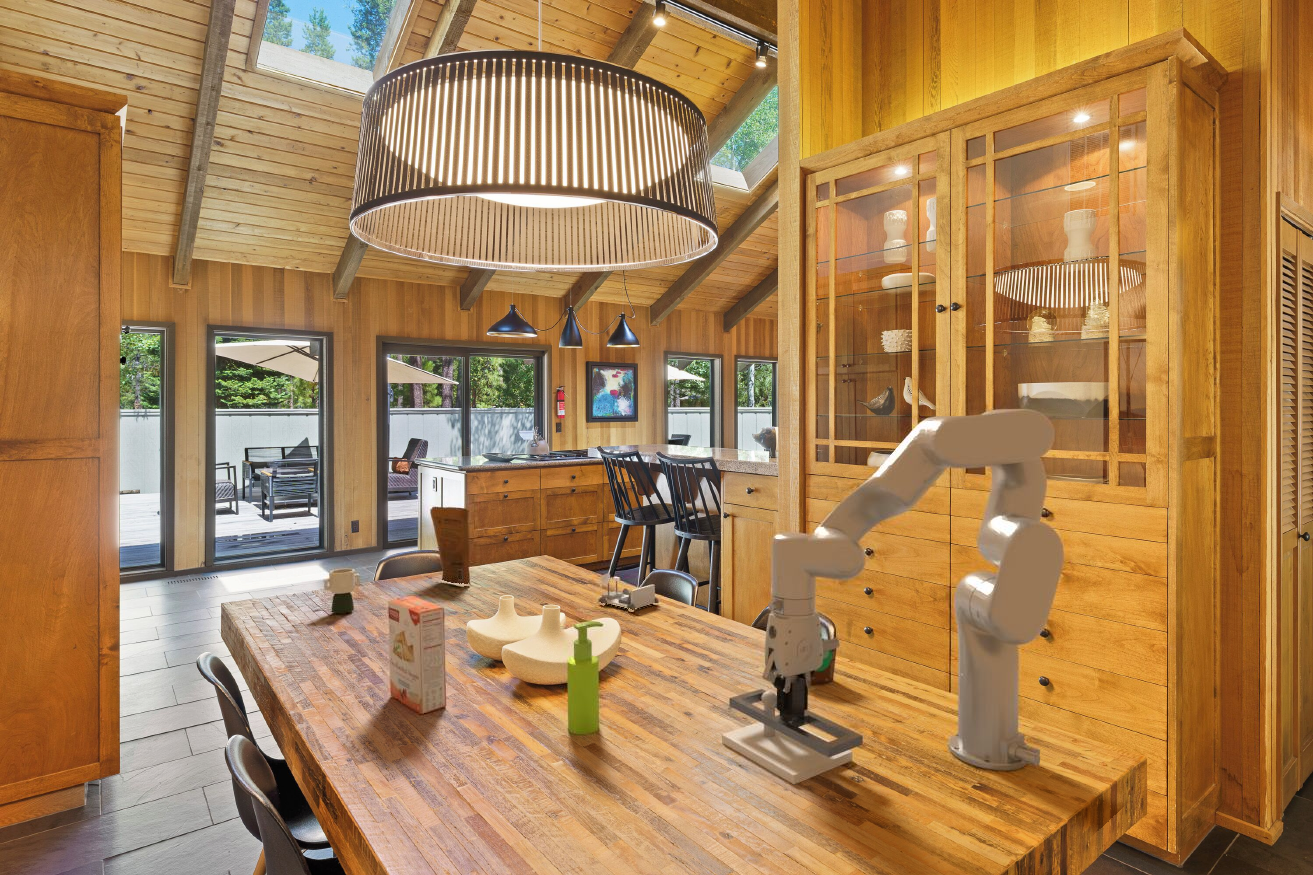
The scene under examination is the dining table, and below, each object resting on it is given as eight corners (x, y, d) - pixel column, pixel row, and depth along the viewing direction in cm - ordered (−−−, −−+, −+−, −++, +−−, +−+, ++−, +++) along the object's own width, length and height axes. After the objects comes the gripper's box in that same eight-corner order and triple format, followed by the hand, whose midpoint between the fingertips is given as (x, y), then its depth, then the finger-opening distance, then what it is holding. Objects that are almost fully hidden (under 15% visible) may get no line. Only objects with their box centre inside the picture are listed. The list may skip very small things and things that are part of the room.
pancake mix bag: (462, 590, 245) (461, 509, 245) (429, 582, 257) (428, 505, 256) (478, 586, 251) (477, 507, 250) (445, 579, 262) (444, 503, 262)
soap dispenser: (609, 728, 135) (608, 624, 134) (575, 737, 131) (574, 629, 131) (596, 717, 140) (595, 616, 139) (563, 725, 136) (562, 622, 136)
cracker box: (388, 697, 151) (386, 599, 150) (415, 689, 155) (413, 594, 155) (419, 716, 141) (417, 611, 141) (447, 707, 145) (445, 606, 145)
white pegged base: (852, 760, 122) (852, 705, 122) (793, 784, 114) (793, 726, 114) (778, 723, 137) (778, 674, 136) (721, 742, 129) (721, 691, 128)
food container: (777, 681, 159) (777, 636, 158) (786, 672, 164) (786, 629, 164) (833, 690, 153) (833, 644, 153) (839, 681, 158) (839, 636, 158)
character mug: (354, 607, 224) (354, 566, 223) (365, 611, 219) (364, 569, 219) (319, 614, 216) (318, 572, 215) (330, 618, 211) (329, 575, 210)
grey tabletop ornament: (592, 574, 226) (617, 568, 235) (592, 604, 226) (617, 597, 235) (633, 582, 214) (658, 575, 223) (633, 614, 215) (658, 606, 223)
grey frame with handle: (862, 744, 116) (863, 695, 116) (828, 757, 111) (829, 707, 111) (761, 696, 136) (761, 655, 135) (729, 705, 131) (729, 663, 131)
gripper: (773, 617, 115) (772, 729, 116) (841, 602, 124) (840, 706, 125) (742, 607, 121) (742, 713, 122) (810, 593, 131) (809, 692, 131)
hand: (792, 708), depth 123 cm, fingers closed on grey frame with handle, 3 cm apart
